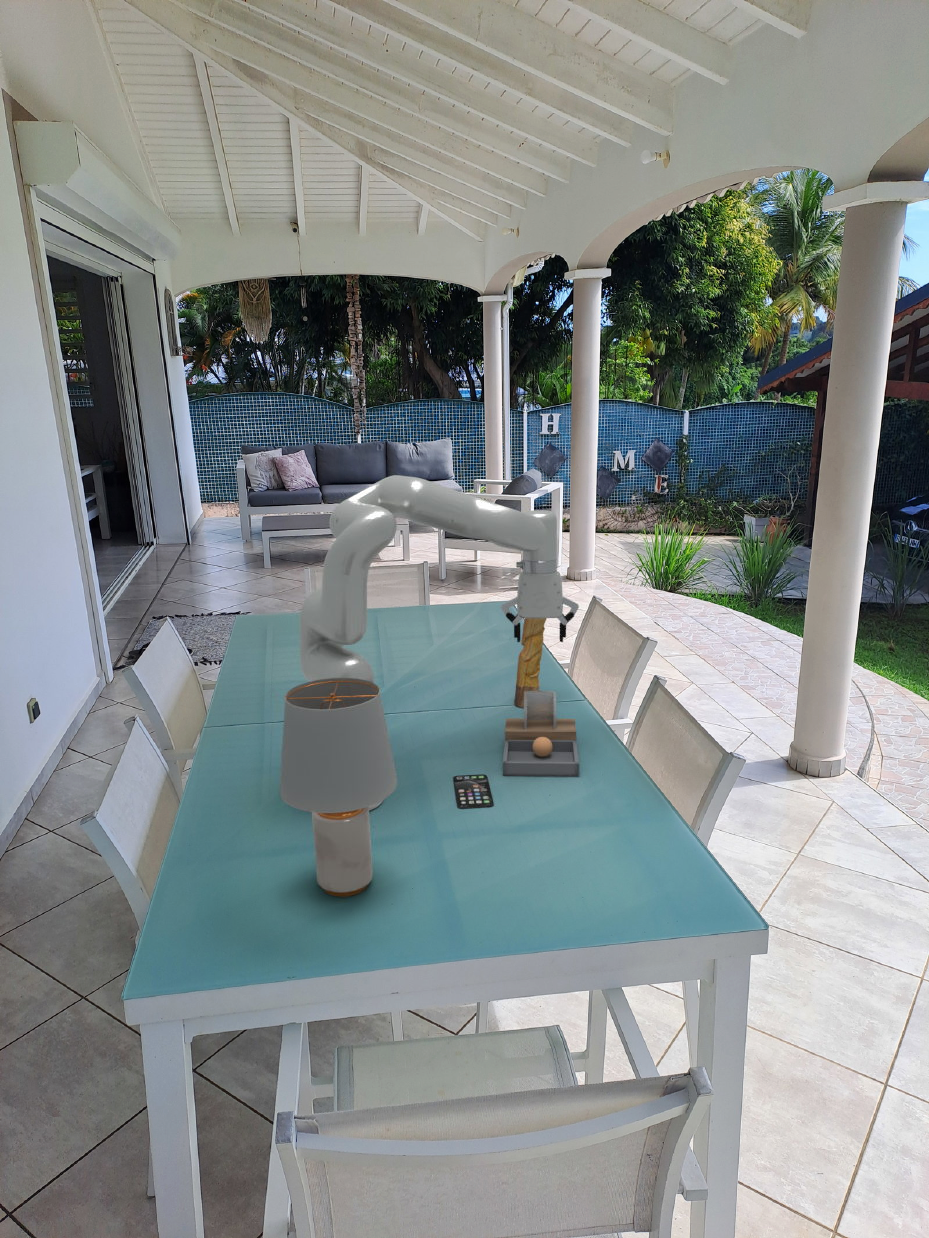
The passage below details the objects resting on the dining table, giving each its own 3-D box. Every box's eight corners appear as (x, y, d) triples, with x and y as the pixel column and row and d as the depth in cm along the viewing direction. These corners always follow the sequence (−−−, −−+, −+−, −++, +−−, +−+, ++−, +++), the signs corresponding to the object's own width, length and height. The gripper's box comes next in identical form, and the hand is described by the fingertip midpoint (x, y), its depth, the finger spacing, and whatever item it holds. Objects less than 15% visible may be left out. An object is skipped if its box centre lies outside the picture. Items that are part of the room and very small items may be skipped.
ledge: (576, 752, 195) (576, 731, 194) (505, 751, 197) (504, 731, 195) (574, 738, 203) (574, 718, 202) (506, 738, 204) (506, 718, 203)
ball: (551, 734, 191) (553, 739, 195) (531, 734, 191) (533, 739, 195) (551, 754, 189) (553, 758, 193) (531, 754, 190) (533, 758, 194)
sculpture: (551, 708, 223) (551, 594, 215) (515, 709, 223) (513, 595, 215) (548, 699, 229) (548, 588, 222) (513, 700, 229) (512, 589, 222)
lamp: (403, 851, 155) (395, 671, 146) (399, 913, 137) (389, 712, 128) (297, 856, 155) (282, 675, 146) (279, 918, 136) (261, 716, 128)
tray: (578, 776, 183) (578, 763, 182) (503, 775, 185) (503, 762, 184) (576, 752, 195) (576, 740, 195) (505, 751, 197) (505, 739, 196)
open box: (556, 730, 195) (556, 701, 193) (524, 730, 196) (524, 700, 194) (555, 719, 202) (555, 691, 200) (524, 719, 202) (524, 691, 200)
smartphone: (486, 773, 185) (494, 805, 171) (487, 776, 186) (494, 808, 171) (452, 775, 185) (457, 807, 170) (452, 778, 185) (457, 810, 171)
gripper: (500, 570, 189) (501, 645, 194) (579, 569, 188) (579, 645, 192) (501, 563, 196) (502, 636, 201) (578, 563, 195) (577, 636, 199)
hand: (540, 640), depth 197 cm, fingers open, 9 cm apart
